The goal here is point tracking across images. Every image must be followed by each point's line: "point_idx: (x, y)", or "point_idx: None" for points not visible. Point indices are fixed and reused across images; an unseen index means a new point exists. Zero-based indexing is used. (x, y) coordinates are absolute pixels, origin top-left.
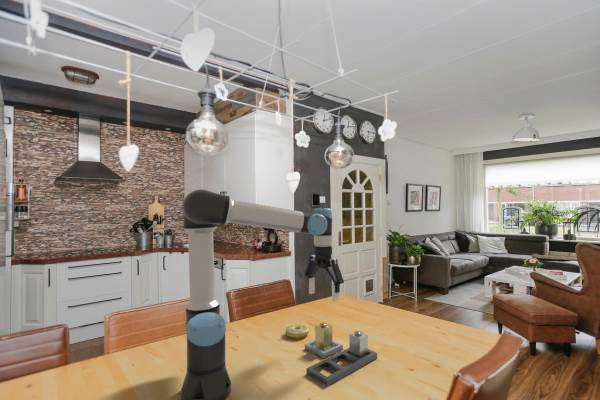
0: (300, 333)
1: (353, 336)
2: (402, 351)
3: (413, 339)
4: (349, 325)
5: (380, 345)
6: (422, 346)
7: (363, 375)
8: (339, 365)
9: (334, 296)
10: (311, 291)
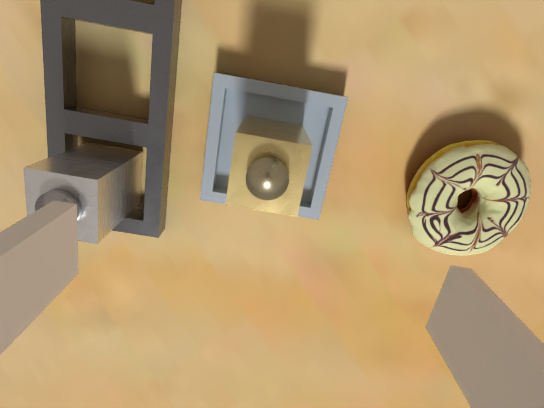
0: (426, 169)
1: (70, 174)
2: None
3: (62, 402)
4: (307, 386)
5: (117, 306)
6: (11, 374)
7: (11, 55)
8: (88, 16)
9: (13, 233)
10: (456, 301)
